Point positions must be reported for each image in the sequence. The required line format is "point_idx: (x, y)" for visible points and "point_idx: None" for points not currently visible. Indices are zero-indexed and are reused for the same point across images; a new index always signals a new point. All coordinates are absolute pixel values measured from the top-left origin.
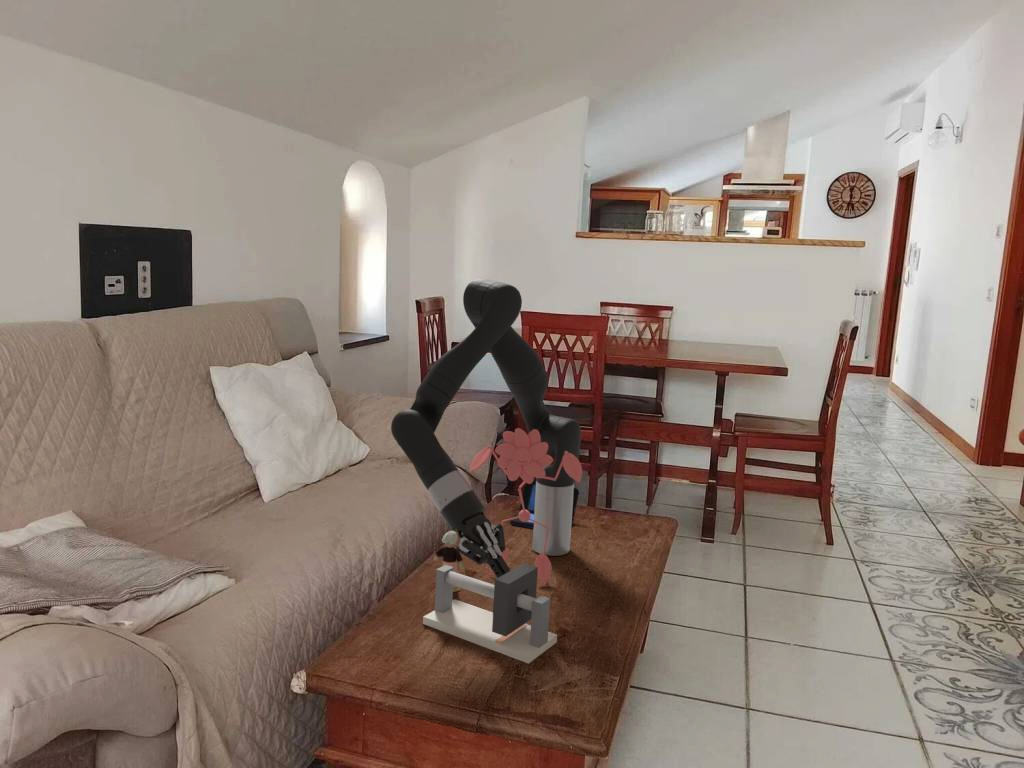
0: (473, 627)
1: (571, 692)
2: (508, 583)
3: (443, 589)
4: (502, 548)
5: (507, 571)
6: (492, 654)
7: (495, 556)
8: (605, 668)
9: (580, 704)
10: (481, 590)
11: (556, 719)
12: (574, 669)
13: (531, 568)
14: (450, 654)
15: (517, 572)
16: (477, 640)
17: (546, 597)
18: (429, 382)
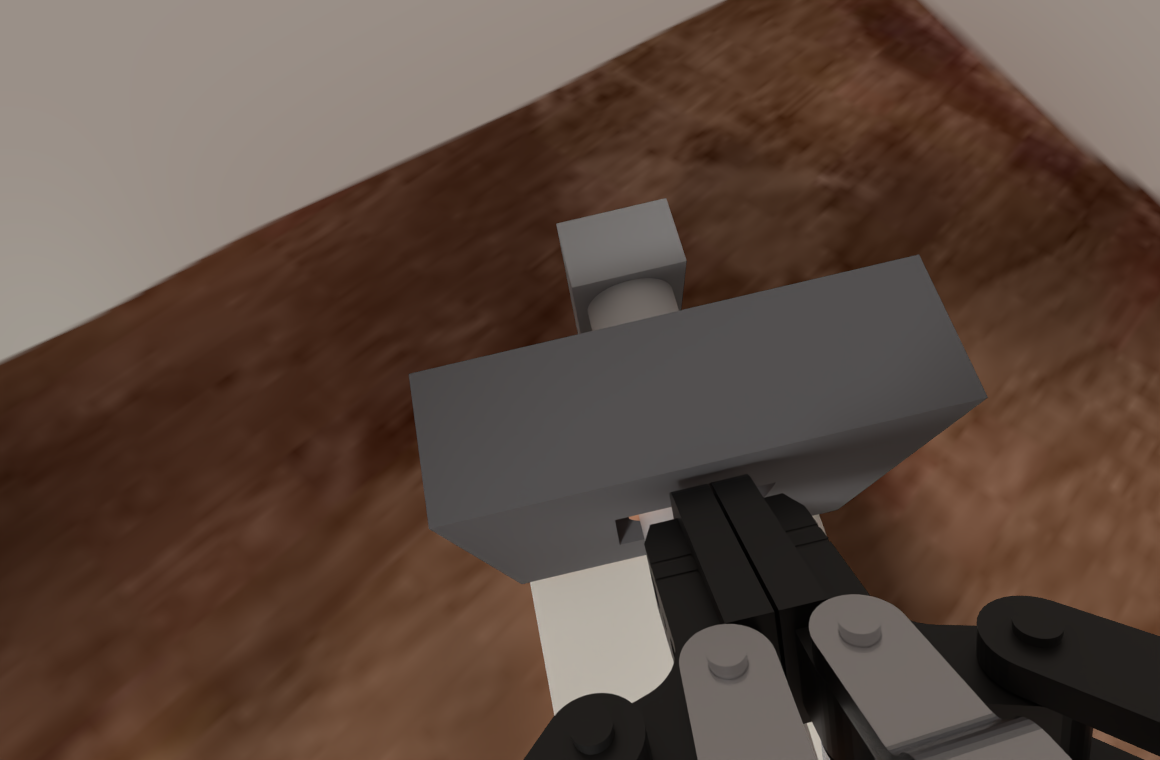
0: (809, 727)
1: (745, 114)
2: (911, 266)
3: None
4: (621, 717)
5: (720, 491)
6: None
7: (846, 617)
8: (516, 149)
9: (773, 58)
10: (814, 749)
11: (905, 44)
12: (616, 203)
13: (483, 384)
14: None
15: (668, 393)
16: None
17: (567, 246)
18: None
